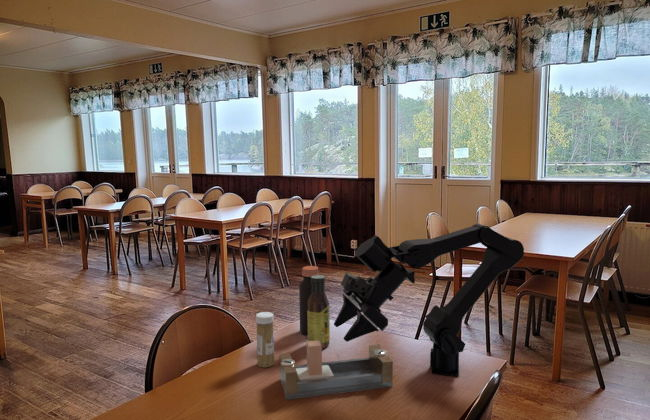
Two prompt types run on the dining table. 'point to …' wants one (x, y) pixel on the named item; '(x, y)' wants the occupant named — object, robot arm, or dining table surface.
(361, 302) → the robot arm
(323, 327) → the sauce bottle
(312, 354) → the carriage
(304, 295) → the vinegar
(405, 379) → the dining table surface
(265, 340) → the sprinkles bottle
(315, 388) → the rail
